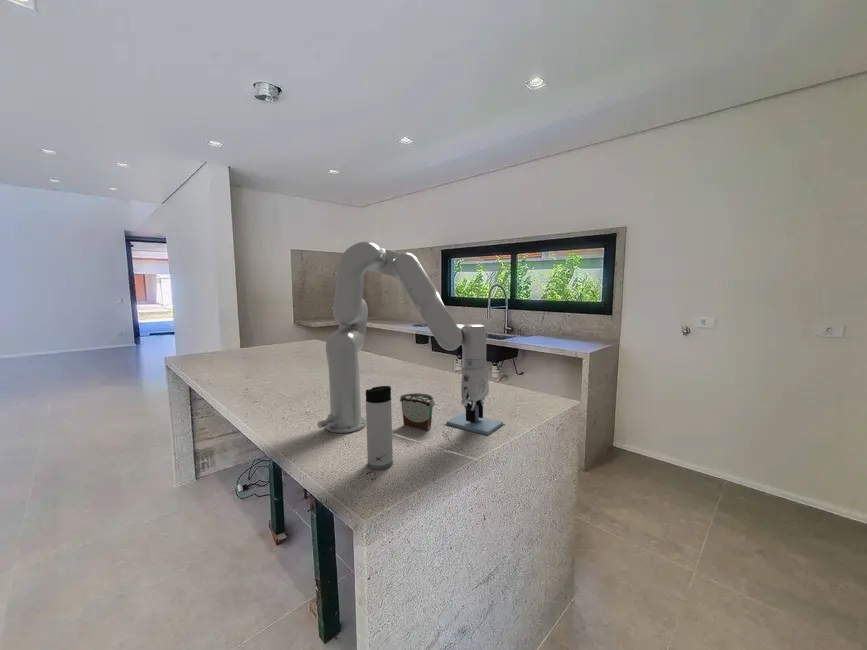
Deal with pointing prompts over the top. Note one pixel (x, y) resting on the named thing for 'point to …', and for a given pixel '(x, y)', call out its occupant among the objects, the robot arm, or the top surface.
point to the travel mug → (379, 427)
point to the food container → (417, 410)
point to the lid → (475, 423)
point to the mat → (473, 431)
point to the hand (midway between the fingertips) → (474, 418)
